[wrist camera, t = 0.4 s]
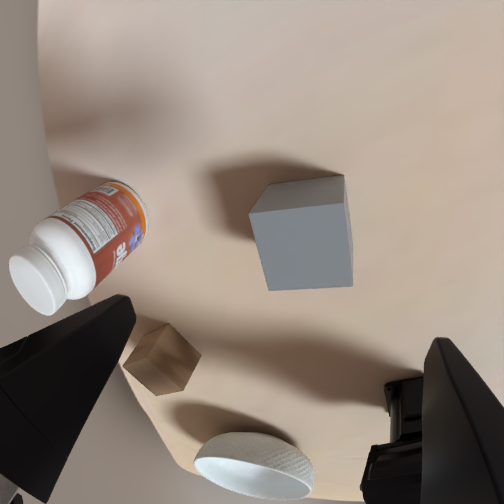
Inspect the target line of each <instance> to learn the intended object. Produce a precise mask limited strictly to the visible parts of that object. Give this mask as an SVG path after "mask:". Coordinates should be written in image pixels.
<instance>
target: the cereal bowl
mask: <svg viewBox="0 0 504 504" xmlns="http://www.w3.org/2000/svg"><path fill="white" fill-rule="evenodd" d="M194 466H195V468H196V470H197V471H198V472H199V473H200V474H201V475H202V476H204V477H205V478H207V479H208V480H210V481H212V482H214V483H215V484H218V485H219V486H222V487H224V488H227V489H229V490H232V491H234V492H238V493H241V494H245V495H248V496H253V497H258V498H264V499H273V500H293V499H301V498H304V497H307V496H308V495H310V493H311V492H312V489H313V484H314V470H313V466H312V464H311V462H310V460H309V459H308V458H307V456H305V454H303V452H301V451H300V450H299V449H297V448H296V447H294V446H292V445H290V444H288V443H286V442H285V441H283V440H282V439H280V438H277V437H275V436H272V435H269V434H265V433H259V432H231V433H223V434H220V435H218V436H215V437H213V438H211V439H210V440H208V441H207V442H206V443H205V444H204V445H203V446H202V447H201V449H200V450H199V452H198V453H197V455H196V457H195V460H194Z"/></svg>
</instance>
